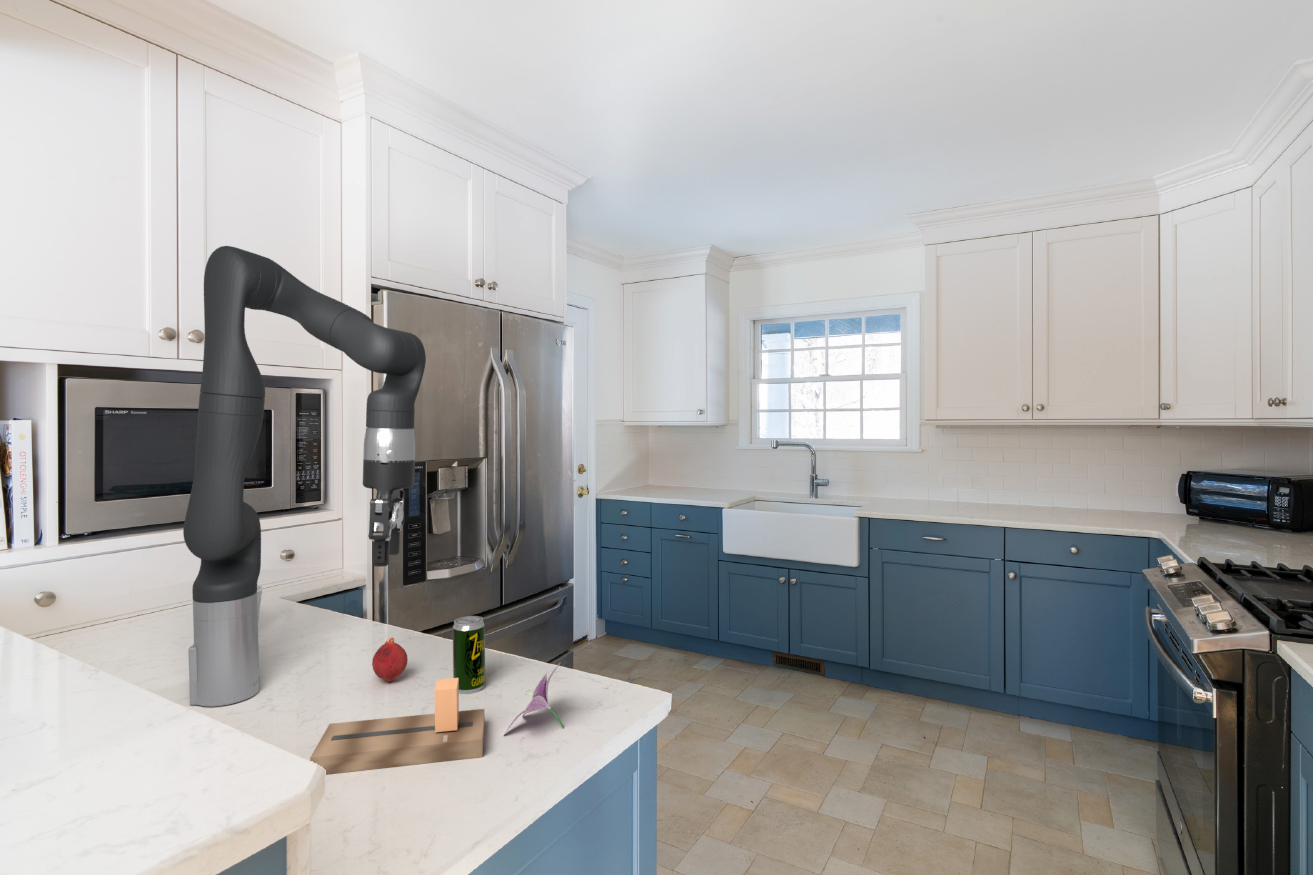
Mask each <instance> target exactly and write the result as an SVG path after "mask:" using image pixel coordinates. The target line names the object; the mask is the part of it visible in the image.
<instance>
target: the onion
mask: <svg viewBox="0 0 1313 875" xmlns="http://www.w3.org/2000/svg"><path fill="white" fill-rule="evenodd" d="M371 662H372V663H371V666H372V669H373V672H374V674H375V676H377V677H378V678H379V679H381V680H383V681H385V682H387V683H392V682H395V681H396V679H397V678H398V677H400V676H401V674H403V672H404V671H405V669H406V668H407V665H408V654H407V651H406V650H405V649H404V648H403V647H402V646H401V645H400V644H399V643H396V642H395V638H394V637H393V636H391V637H388V638H387V639H386V641H385V642H384V644H382V645H381V646H380V647H379V648H378V649H377V650H376V651H375V653H374V654H373V657H372V660H371Z"/></svg>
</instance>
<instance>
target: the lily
mask: <svg viewBox="0 0 1313 875" xmlns="http://www.w3.org/2000/svg"><path fill="white" fill-rule="evenodd" d="M560 664H561V661H560V662H559V663H558V664H557V665H556V667H555V668H554V669H553V670H552V672H551V673H550V675H549V676H548V675H547V673H548V672H549V671H546V672H545V674H544V676H542V677H541V680H540V681H539V682H538V683H537V685H536V686H535V688H534V690H533V689H531V691H532V692H531V691H530V690H526V691H525V693H526V695H527V696H530V697H531V698H532V699H531V700H530V702H529V703H528V705H527V706H526V708H525V709H524V710H522V711H521V712H520V713H518V715H517V716H516V717H515V718H514V719H513V720H512V722H511V723H510V725H508V727H507V729H506V731H505V732H504V734H503V736H505V735H506V734H507V732H508V731H509V729H510V728H511V727H512V725H513V724H514V723H515V721H517V719H518V718H519V717H520V716H521V718H524V717H525V716H526V714H528V713H532V712H536V711H540V710H544V709H548V710H549V711H550V712H551V714H552V715H553V716H554V717H555V719H556V720H557V721H558V724H559V725H560V726H561V728H562V729H564V728H565V726H564V724H563V723H562V722H561V720H560V717H558V715H557V714H556V712H555V711H554V710H553V709H552V707H551V706H550V704H549V698H548V697H549V696H548V691H549V683H550V681H551V679H552V676H554V675H553V674H554V673H555V672H556V670H557V669H558V667H559V666H560Z"/></svg>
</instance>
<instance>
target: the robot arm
mask: <svg viewBox="0 0 1313 875" xmlns="http://www.w3.org/2000/svg"><path fill="white" fill-rule="evenodd" d="M246 309H250V310H255V311H265V312H269V313H273V314H277V315H280V316H281V315H282V316H283V317H287V318H289V319H292V320H294V321H295V322H297V323H298V324H299V325H300V326H302V328H303V329H304V330H305V331H306V332H307V333H308V334H310V336H312V337H314V338H316V339H317V340H319V341H321V342H323V343H324V344H327V345H329V346H330V347H333V348H334V349H337V350H338V351H341V352H343V353H344V355H346V356H347V357H348V358H349V359H351V360H352V361H353V362H354V363H355V364H357V365H358V366H360V367H362V368H363V369H366V370H368V371H370V372H373V373H376V374H384V375H385V379H384V382H383V385H382V387H381V388H380V389H376V390H373V391H371V392H369V394H368V396H367V400H366V409H365V410H366V415H365V418H366V420H365V433H364V439H363V453H362V455H363V458H362V460H363V461H362V486H363V487H364V488H365V489H366V488H368V489H373V490H374V489H375V490H376V495H375V496H376V497H375V498H371V499H370V501H369V525H368V540H371V542H372V544H373V545H372V565H373V566H374V567H387V566H389V564H390V556H391V555H392V556H396V555H398V554H399V553H400V546H401V544H400V543H401V531H402V529H403V526H404V523H405V519H404V518H405V494H406V492H405V490H404V489H411V488H413V487H414V485H415V467H416V466H415V465H416V460H415V459H416V438H415V412H416V411H415V404H416V401H417V397H418V394H419V392H420V391H419V390H420V388H421V384H422V379H423V376H424V374H425V373H424V372H425V369H426V362H427V361H426V360H427V357H426V355H427V354H426V350H425V349H426V348H425V347H424V344H423V342H422V340H421V339H420V338H419V337H418V336H417V335H415V334H413V333H412V332H407V331H404V330H398V329H395V328H390V327H385V326H382V325H379V324H377V323H375V322H374V321H373V320H372V318H370V316H368V315H367V314H365V313H364V312H362V311H360V310H358V309H356V308H354V307H352V306H350V305H348V304H346V303H344V302H341V301H340V300H337V299H335V298H333V297H332V296H331V297H330V296H328V295H326V294H324V293H321V292H319V291H317V290H316V289H314V288H312V287H311V286H309V285H307V284H305V283H304V282H302V280H300V279H298V278H297V277H296V276H294V275H293V274H292V272H291V273H290V271H288V270H287V269H286V268H284V267H283V266H282V265H280V264H279V263H277V262H276V261H274V260H273V259H272V258H269V257H266V256H263V255H261V254H257V253H254V252H251V251H249V250H245V249H242V248H238V247H235V246H231V245H223V246H219V247H217V248H216V249H215V250H214V251H213V252H211V254H210V256H209V257H208V260H207V262H206V265H205V269H204V276H203V310H204V311H203V312H204V313H203V314H204V315H203V316H204V319H203V320H204V343H203V358H202V359H203V360H202V374H201V381H200V382H201V383H200V387H199V388H200V389H199V392H200V393H199V398H198V399H199V401H198V408H197V409H198V410H197V411H198V412H197V430H196V440H195V441H196V443H195V455H194V456H195V457H194V458H195V459H194V460H195V461H194V462H195V463H194V473H193V479H192V481H193V482H192V486H191V490H190V491H191V492H190V496H189V500H188V505H187V510H186V513H185V517H184V521H183V522H184V524H183V530H182V532H183V533H182V535H183V539H184V543H185V545H186V548H187V550H189V552H190V553H191V554H193V555H194V556H195V557H197V558H198V559H200V566H199V570H198V573H197V575H196V577H195V580H194V581H193V584H192V589H191V590H192V592H191V593H192V614H193V616H192V618H193V619H192V621H193V622H192V624H193V644H192V645H191V646H189V648H188V676H189V678H188V679H189V682H188V683H189V684H188V685H189V686H188V687H189V705H190V706H194V705H195V706H196V705H197V706H201V707H221V706H222V707H223V706H227V705H232V704H235V703H236V704H237V703H239V702H240V703H241V702H242V701H245V700H248V699H249V698H252V697H253V696H256V695H257V694H258V693H259V691H260V656H259V655H260V653H259V650H260V649H259V647H260V646H259V621H258V602H257V585H258V581H259V577H260V574H261V567H262V566H261V565H262V563H261V562H262V527H261V521H260V518H259V515H258V513H257V511H256V510H255V509H254V507H253V506H251V505H250V504H249V503H247V502H246V501H244V492H245V491H244V489H245V488H244V487H245V481H246V480H245V478H246V473H247V471H248V467H249V464H250V461H251V458H252V457H253V454H254V452H255V449H256V446H257V443H258V441H259V437H260V434H261V431H262V426H263V421H264V414H265V401H266V400H265V398H266V387H265V386H266V385H265V381H264V378H263V376H262V373H261V371H260V369H259V367H258V364H257V361H256V360H255V357H254V356H253V353H252V352H251V349H250V347H249V345H248V341H247V337H246V332H245V330H246V329H245V321H246V320H245V318H246V317H245V315H246V314H245V312H246ZM380 529H382V530H381V531H380Z"/></svg>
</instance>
